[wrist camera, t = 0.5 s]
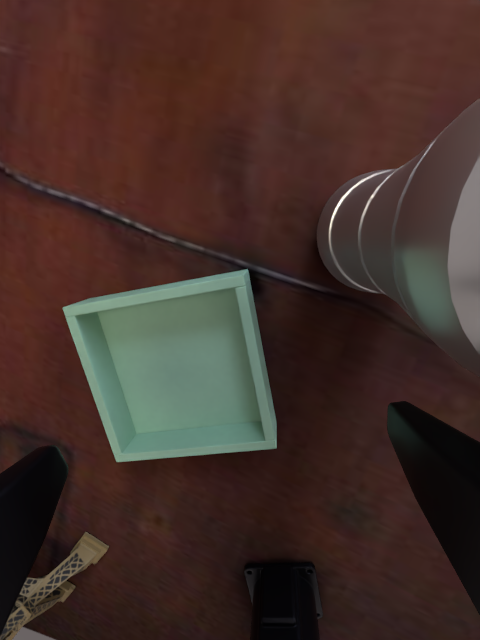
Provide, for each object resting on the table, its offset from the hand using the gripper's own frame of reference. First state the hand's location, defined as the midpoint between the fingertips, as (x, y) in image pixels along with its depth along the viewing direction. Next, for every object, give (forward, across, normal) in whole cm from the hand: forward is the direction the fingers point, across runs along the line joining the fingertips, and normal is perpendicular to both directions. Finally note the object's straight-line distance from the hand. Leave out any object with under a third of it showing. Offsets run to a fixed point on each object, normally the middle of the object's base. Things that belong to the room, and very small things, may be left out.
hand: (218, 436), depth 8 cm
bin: (+14, +5, +5) cm, 16 cm away
